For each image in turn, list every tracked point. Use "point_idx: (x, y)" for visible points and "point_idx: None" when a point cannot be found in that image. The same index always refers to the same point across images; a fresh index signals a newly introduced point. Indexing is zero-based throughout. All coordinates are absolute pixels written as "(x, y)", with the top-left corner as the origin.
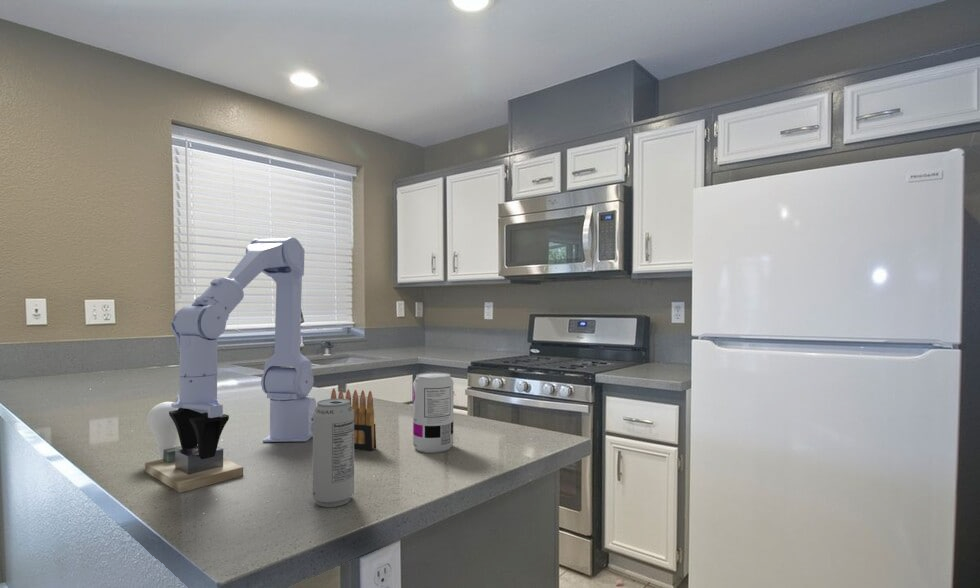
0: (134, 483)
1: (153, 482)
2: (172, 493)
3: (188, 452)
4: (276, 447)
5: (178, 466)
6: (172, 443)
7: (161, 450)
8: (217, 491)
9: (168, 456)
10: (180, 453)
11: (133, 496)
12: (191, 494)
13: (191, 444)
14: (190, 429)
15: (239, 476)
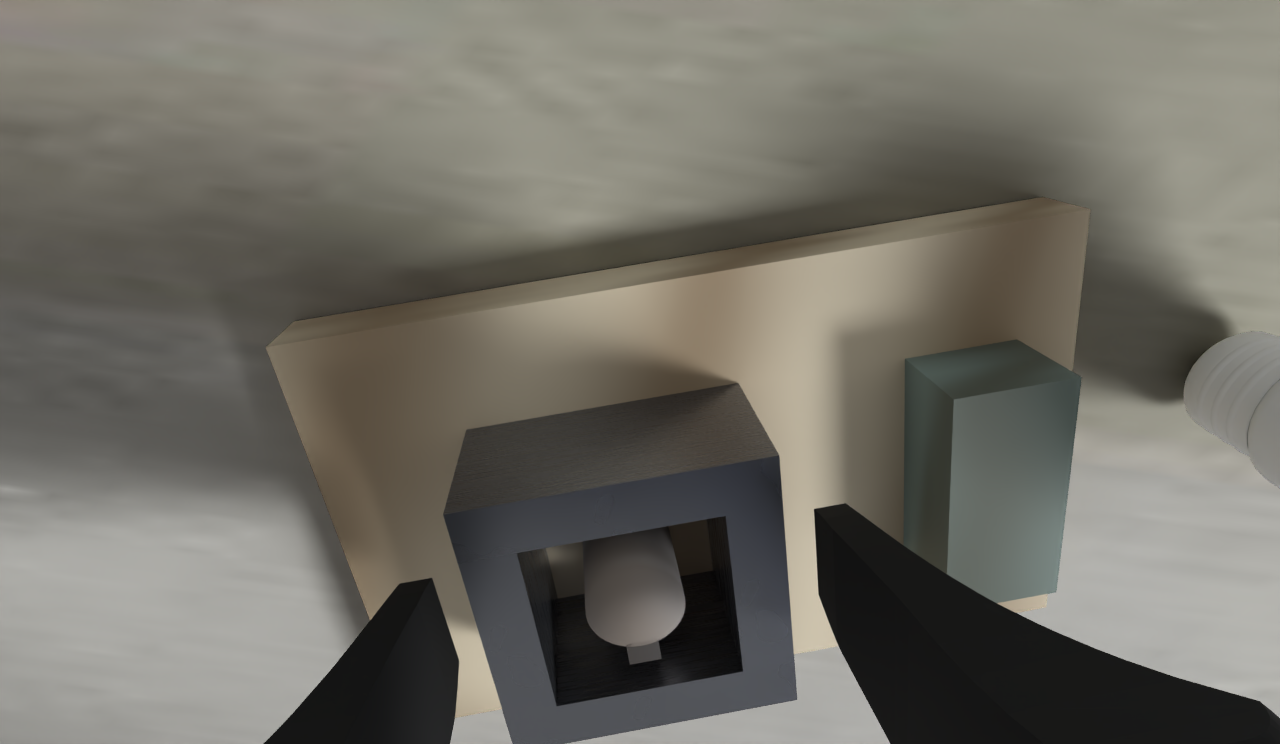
0: (781, 81)
1: (696, 208)
2: (315, 279)
3: (601, 535)
4: None
5: (671, 405)
6: (1262, 464)
7: (1264, 367)
8: (178, 517)
9: (931, 383)
10: (641, 476)
11: (424, 21)
12: (209, 379)
13: (832, 592)
14: (911, 707)
15: None
